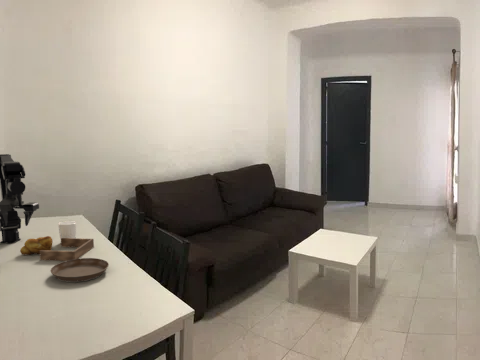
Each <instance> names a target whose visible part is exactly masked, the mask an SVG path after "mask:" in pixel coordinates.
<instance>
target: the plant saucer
mask: <svg viewBox="0 0 480 360" xmlns="http://www.w3.org/2000/svg"><path fill="white" fill-rule="evenodd" d="M109 265H110V264H109V262H108V261H107V260H104V259H100V258H95V257H80V258H79V259H73V260H68V261H60V262H59V263H57V264H55V265H53V266H52V267H51V268H50V273H51V274H52V275H53V277H54V278H56V279H57V280H59V281H61V282H62V281H63V282H67V283H81V282H86V281H87V282H88V281H90V280H93V279H96V278H98V276H99V277H100V276H102V275H103V274H104V273H105V272H106V271H107V269H108V267H109Z"/></svg>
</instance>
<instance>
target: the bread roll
mask: <svg viewBox="0 0 480 360" xmlns="http://www.w3.org/2000/svg"><path fill="white" fill-rule="evenodd" d="M53 243H54V242H53V238H52V236H49V235H47V236H44V237H43V236H40V237H37V238H28V239H27V240H26V241H25V242H24V245H23V246H22V247H21V248H20V251H19V252H20V254H21V255H24V256H33V255H40V251H41V250H49V251H52V250H53Z"/></svg>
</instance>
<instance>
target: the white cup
mask: <svg viewBox="0 0 480 360" xmlns="http://www.w3.org/2000/svg"><path fill="white" fill-rule="evenodd" d="M58 234H59V238H60V239H59V240H60V241H61V238H77V221H75V220H65V221H60V222H58Z"/></svg>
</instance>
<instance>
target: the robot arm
mask: <svg viewBox="0 0 480 360" xmlns="http://www.w3.org/2000/svg"><path fill="white" fill-rule="evenodd" d="M25 178H26V171H25V168H24V166H23V164H21V162H19V161H14V160H13V158H12V155H11V154H9V153H8V154H7V153H5V154H4V153H3V154H0V195H1V201H0V232H1V241H0V242H3V243H2V244H14V243H16V242H18V241H20V240H21V238H20V231H19V229H21V228H22V219H21V217H20V216H19V213H18V211H17V210H19V209H20V210H21V209H22V210H24V211H23V214H24V224H25V226H26V227H27V226H28V225H29V223H30V221H31V218H32V215H33V214H34V212H35V211H37V210H39V209H40V204H39V203H38V202H28V203H25V201H23V197H22V196H23V195H24V192H25V191H26V184H25V183H24V182H23V181H22V179H25ZM16 209H17V210H16Z"/></svg>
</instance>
